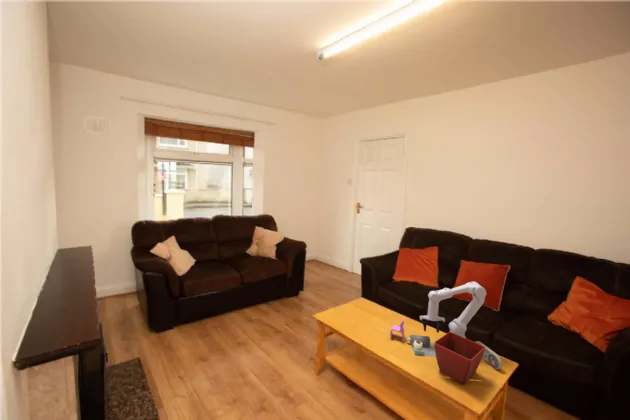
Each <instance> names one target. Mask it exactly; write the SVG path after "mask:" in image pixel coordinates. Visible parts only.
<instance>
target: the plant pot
mask: <svg viewBox="0 0 630 420" xmlns="http://www.w3.org/2000/svg"><path fill="white" fill-rule="evenodd" d="M475 342H476V341H472V340H470V339H468V338H467V337H466V338H464V337H461V336H459V335H457V334H454V333H452V332H450V331H449V332H447V333H445V334H444V335H443V336H442V337H441V336H440V338H439V339H437V340H435V341H434V342H433V343H434V345H435V353H436V357H435V358H436V362H437V366H438V370H439V371H440V373H443V374H444V375H446V376H447V377H449V378H450V379H452V380H453V381H455V382H457V383H459V384H461V385H465V384H466V383H467V382H469V381H470V379H471V378H472V377H473V376H475V374H476V372H477V369H478V367H479V366H480V363H481V362H482V359H483V358H482V356H483V354H484V350H485V347H484V346H482V345H480V344H477V343H475Z"/></svg>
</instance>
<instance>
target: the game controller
mask: <svg viewBox="0 0 630 420" xmlns="http://www.w3.org/2000/svg"><path fill="white" fill-rule="evenodd" d="M474 342H475V343H477V344H480V345H482V346H484V347H485V350H484V354H483V356H482V359H484V360H485V362H487V363H488V364H489V366H491V368H492V369H494V370H500V369H502V367H503V361H502V359H501V357H500V356H499V355H498V354H497V353H496V352H495V351H493V350H492V349H491V348H490V347H488V346H487V345H485V344H484V343H482V342H481V341H479V340H477V341H474Z"/></svg>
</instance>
